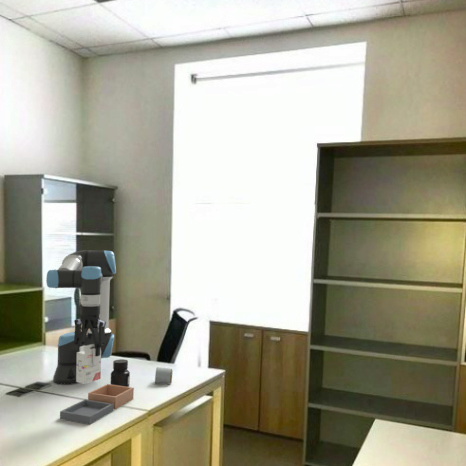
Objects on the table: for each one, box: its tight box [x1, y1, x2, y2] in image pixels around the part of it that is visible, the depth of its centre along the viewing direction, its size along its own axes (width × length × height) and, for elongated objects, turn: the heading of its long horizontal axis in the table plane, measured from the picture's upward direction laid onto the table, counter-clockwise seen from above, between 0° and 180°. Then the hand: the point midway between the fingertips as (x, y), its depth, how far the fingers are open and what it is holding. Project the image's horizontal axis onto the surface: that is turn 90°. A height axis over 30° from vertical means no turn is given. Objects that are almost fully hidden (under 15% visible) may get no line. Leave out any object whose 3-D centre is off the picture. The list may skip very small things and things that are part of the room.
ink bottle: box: [109, 358, 131, 387], centre depth 216 cm, size 10×9×12 cm
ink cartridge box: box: [76, 344, 102, 385], centre depth 179 cm, size 9×5×15 cm, turn 148°
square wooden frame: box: [87, 383, 135, 410], centre depth 194 cm, size 14×14×5 cm
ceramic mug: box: [154, 366, 173, 385], centre depth 224 cm, size 11×8×8 cm
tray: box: [59, 399, 114, 425], centre depth 179 cm, size 14×15×3 cm
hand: (88, 363), depth 179 cm, fingers closed on ink cartridge box, 6 cm apart
